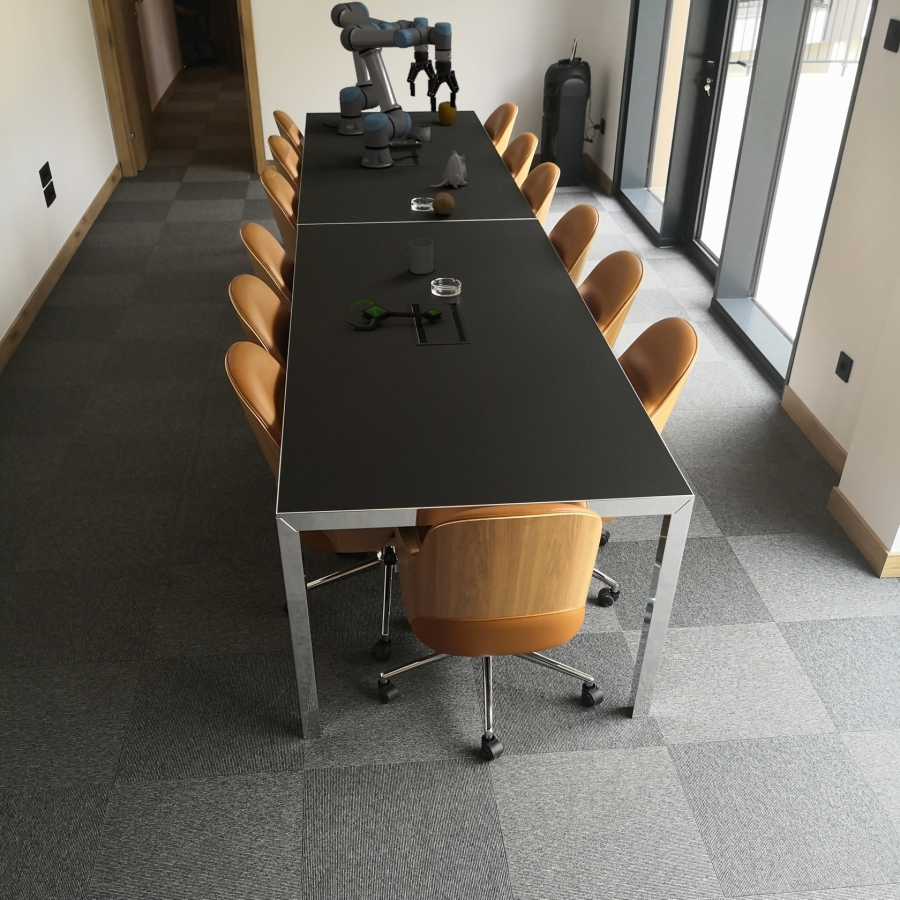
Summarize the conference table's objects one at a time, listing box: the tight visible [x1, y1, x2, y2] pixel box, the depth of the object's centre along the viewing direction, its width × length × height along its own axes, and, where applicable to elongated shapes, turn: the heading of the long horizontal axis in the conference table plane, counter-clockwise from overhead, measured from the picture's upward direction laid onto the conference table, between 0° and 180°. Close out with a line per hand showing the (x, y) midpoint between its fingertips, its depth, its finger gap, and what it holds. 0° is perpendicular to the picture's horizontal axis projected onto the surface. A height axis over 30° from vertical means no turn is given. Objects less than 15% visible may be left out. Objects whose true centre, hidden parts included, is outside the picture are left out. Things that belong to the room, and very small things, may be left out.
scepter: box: [345, 298, 443, 331], centre depth 269 cm, size 6×13×30 cm
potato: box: [431, 192, 456, 216], centre depth 360 cm, size 10×14×8 cm
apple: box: [437, 100, 458, 126], centre depth 500 cm, size 11×11×13 cm
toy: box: [428, 149, 468, 189], centre depth 390 cm, size 9×24×15 cm, turn 137°
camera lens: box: [418, 124, 431, 143], centre depth 469 cm, size 6×6×8 cm
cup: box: [408, 237, 434, 275], centre depth 305 cm, size 8×8×10 cm
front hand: (443, 109), depth 405 cm, fingers open, 13 cm apart
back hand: (421, 94), depth 460 cm, fingers open, 13 cm apart
